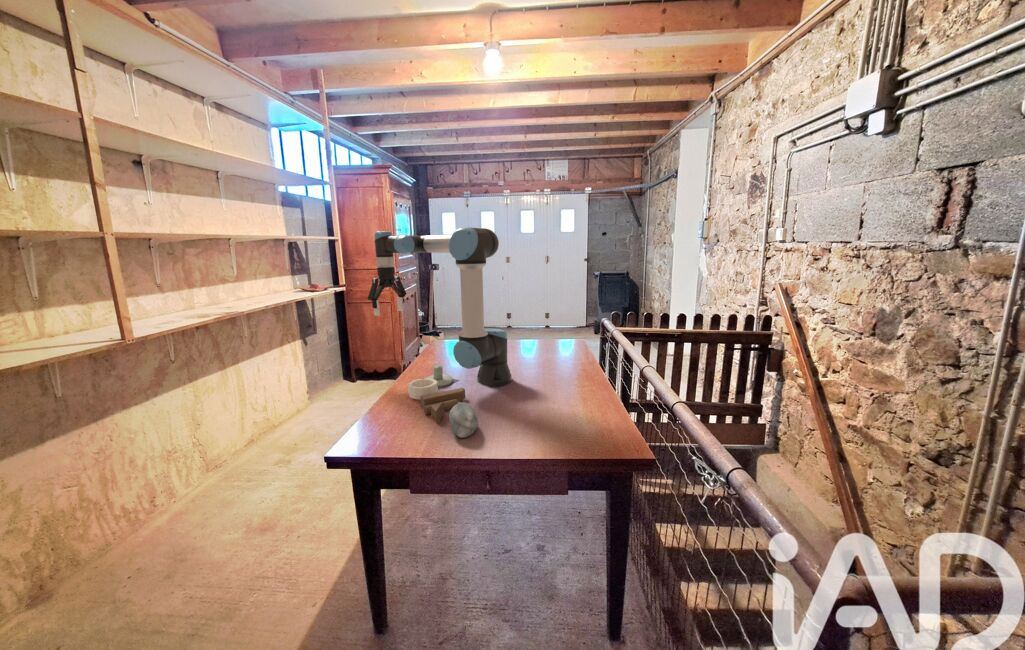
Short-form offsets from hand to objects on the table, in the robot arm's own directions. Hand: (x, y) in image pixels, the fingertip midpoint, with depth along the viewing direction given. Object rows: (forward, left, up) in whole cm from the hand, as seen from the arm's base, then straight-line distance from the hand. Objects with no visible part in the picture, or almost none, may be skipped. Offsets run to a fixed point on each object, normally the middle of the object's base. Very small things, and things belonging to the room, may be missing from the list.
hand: (389, 313), depth 178 cm
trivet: (-30, +2, -28) cm, 41 cm away
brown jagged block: (-52, +20, -29) cm, 63 cm away
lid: (-30, +2, -28) cm, 41 cm away
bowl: (-34, +15, -28) cm, 47 cm away
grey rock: (-67, +30, -28) cm, 79 cm away
